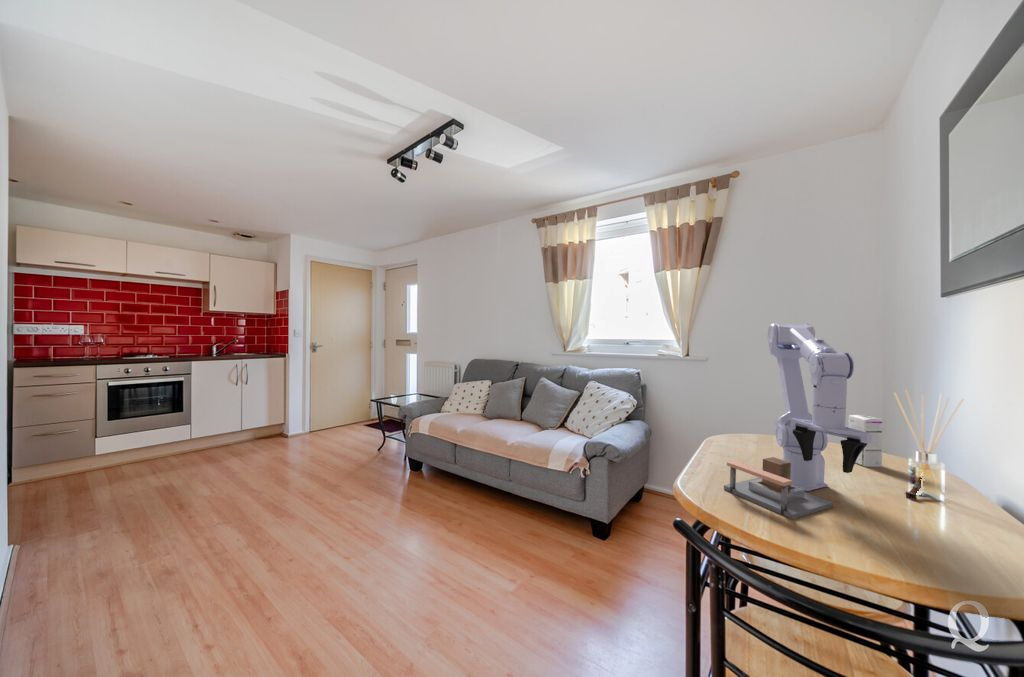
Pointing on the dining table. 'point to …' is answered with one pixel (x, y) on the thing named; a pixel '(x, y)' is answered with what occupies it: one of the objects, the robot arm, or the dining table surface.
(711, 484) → the dining table surface
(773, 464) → the walnut peg
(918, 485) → the brown figurine
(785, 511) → the socket board
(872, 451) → the syrup box
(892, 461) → the dining table surface
